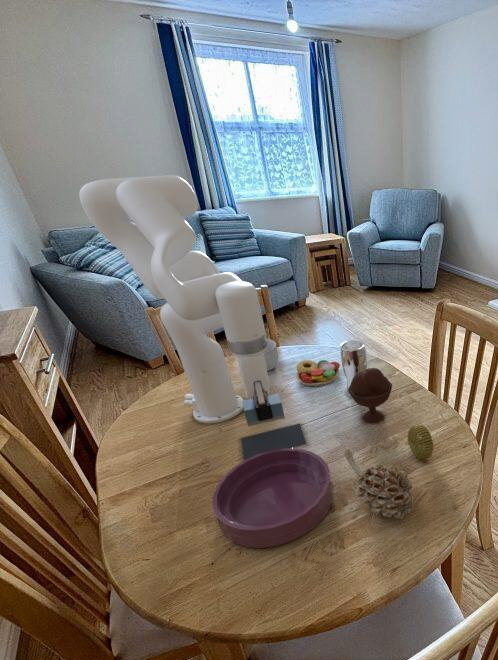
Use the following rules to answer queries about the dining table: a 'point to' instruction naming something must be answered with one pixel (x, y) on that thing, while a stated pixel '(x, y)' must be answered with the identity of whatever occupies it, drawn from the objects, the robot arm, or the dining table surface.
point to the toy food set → (317, 372)
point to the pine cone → (383, 489)
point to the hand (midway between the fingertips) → (264, 412)
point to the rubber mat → (272, 440)
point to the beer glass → (353, 359)
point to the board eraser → (252, 415)
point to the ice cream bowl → (370, 392)
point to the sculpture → (420, 441)
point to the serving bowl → (273, 497)
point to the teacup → (271, 355)
